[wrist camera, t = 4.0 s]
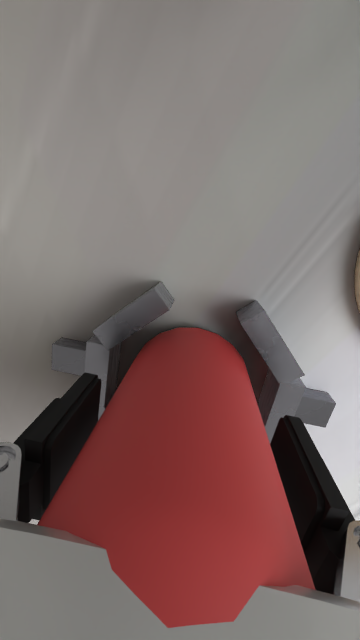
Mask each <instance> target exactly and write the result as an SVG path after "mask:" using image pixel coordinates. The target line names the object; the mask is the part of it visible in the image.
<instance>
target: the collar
mask: <svg viewBox="0 0 360 640" xmlns="http://www.w3.org/2000/svg"><path fill="white" fill-rule="evenodd" d="M173 302H174V299H173V297H172V296H171V294H170V293H169V292H168V290H167V289H166V287H165V286H164V284H163V283H162V282H160V283H158V284H157V285H155V286H154V287H153V288H151V289H150V290H148V291H147V292H145V293H144V294H143V295H141V296H140V297H138V298H137V299H135V300H134V301H133V302H131V303H130V304H128V305H127V306H125V307H124V308H122V309H121V310H120V311H118V312H117V313H115V314H114V315H112V316H111V317H110V318H108V319H107V320H106V321H104V322H103V323H102V324H101V325H99V326H98V327H97V328H96V329H95V330H93V331H92V332H93V333H94V334H95V335H94V336H93V337H91V338H90V339H89V340H88V341H87V343H86V342H81V341H76V340H72V339H67V338H60V339H59V340H58V341H56V342H55V343H53V344H52V370H56V371H61V372H66V373H71V374H75V375H80V376H82V375H83V374H84V373H85V372H86V373H91V374H95V375H98V379H101V393H100V404H99V414H98V421H99V419H100V417H101V415H102V414H103V412H104V410H105V409H106V407H107V405H108V404H109V402H110V400H111V398H112V397H113V395H114V393H115V392H116V390H117V387H116V386H117V377H118V368H119V359H120V351H121V342H122V341H123V340H124V339H126V338H127V337H129V336H130V335H132V334H133V333H135V332H137V331H138V330H140V329H141V328H143V327H144V326H146V325H147V324H149V323H150V322H152V321H153V320H155V319H156V318H158V317H159V316H161V315H162V314H164V313H165V312H167V311H169V310H170V308H171V306H172V304H173ZM236 314H237V316H238V319H239V321H240V324H241V325H242V327H243V328H244V330H245V331H246V333H247V335H248V336H249V338H250V339H251V341H252V342H253V344H254V345H255V347H256V348H257V350H258V351H259V353H260V354H261V356H262V357H263V359H264V361H265V362H266V364H267V365H268V367H269V370H268V373H267V376H266V379H265V382H264V385H263V388H262V391H261V394H260V397H259V400H258V403H257V404H258V408H259V411H260V414H261V417H262V420H263V424H264V427H265V430H266V433H267V436H268V440H269V443H271V440H272V438H273V435H274V432H275V430H276V427H277V424H278V421H279V419H280V418H281V417H282V418H284V416H285V415H289V416H294V417H299V418H300V419H301V420H302V422H303V423H306V424H311V425H315V426H320V427H326V425H327V423H328V420H329V418H330V416H331V414H332V411H333V409H334V407H335V405H336V403H335V401H334V400H333V399H332V398H331V396H330V395H329V394H328V393H327V392H322V391H318V390H313V389H308V388H306V387H305V385H304V384H303V382H302V381H301V379H300V377H302V376H304V373H303V371H302V370H301V368H300V367H299V365H298V363H297V362H296V360H295V359H294V357H293V355H292V354H291V352H290V351H289V349H288V347H287V346H286V344H285V342H284V341H283V339H282V338H281V336H280V334H279V333H278V331H277V330H276V328H275V326H274V325H273V323H272V322H271V320H270V318H269V317H268V315H267V314H266V312H265V310H264V309H263V308H262V307H261V305H260V304H259V303H258V302H257V301H256V300H255V301H253V302H252V303H250V304H249V305H247V306H245V307H244V308H242V309H240V310H239V311H237V312H236Z"/></svg>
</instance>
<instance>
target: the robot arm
mask: <svg viewBox="0 0 360 640" xmlns="http://www.w3.org/2000/svg"><path fill="white" fill-rule="evenodd" d="M100 393H101V379H98V375H95V374H91V373H86V372H85V373H84V374H83V375H82V376H81V377H80V378H79V379H78V380H77V381H76V382H75V383H74V385H73V386H72V387H71V388H70V389H69V390H68V391H67V392H66V393H65V394H64V396H63V397H62V398H61V399H60V398H56V399H55V400H53V401H52V402H51V403H50V405H49V406H48V407H47V408H46V409H45V410H44V411H43V412H42V413H41V414H40V415H39V416H38V417H37V418H36V419H35V420H34V422H33V423H32V424H31V425H30V426H29V427H28V428H27V429H26V430H25V431H24V432H23V433H22V434H21V435H20V436H19V437H18V439H17V440H16V441H15V442H14V443H10V442H0V640H360V521H355V519H354V517H353V515H352V514H351V512H350V510H349V508H348V506H347V504H346V502H345V500H344V499H343V497H342V495H341V493H340V491H339V489H338V487H337V485H336V483H335V482H334V480H333V478H332V476H331V474H330V472H329V470H328V468H327V467H326V465H325V463H324V461H323V459H322V458H321V456H320V454H319V452H318V450H317V448H316V447H315V445H314V443H313V441H312V439H311V437H310V435H309V433H308V431H307V430H306V428H305V426H304V424H303V422H302V420H301V419H300V418H299V417H294V416H289V415H285V416H284V418H282V417H281V418H280V419H279V421H278V424H277V427H276V430H275V432H274V435H273V438H272V440H271V443H270V446H271V449H272V452H273V456H274V459H275V462H276V465H277V468H278V472H279V475H280V478H281V481H282V484H283V488H284V491H285V494H286V497H287V500H288V504H289V507H290V510H291V513H292V516H293V519H294V523H295V526H296V529H297V532H298V535H299V539H300V542H301V545H302V548H303V551H304V555H305V558H306V561H307V564H308V567H309V571H310V574H311V577H312V580H313V583H314V587H315V590H313V589H310V588H306V587H302V586H298V585H292V586H287V587H279V586H259V587H258V588H257V589H256V591H255V592H254V594H253V595H252V596H251V598H250V599H249V601H248V602H247V604H246V605H245V606H244V608H243V609H242V611H241V612H240V613H239V615H238V616H237V618H236V619H235V620H234V622H223V623H212V624H200V625H190V626H182V627H173V628H167V627H166V626H165V625H164V624H163V623H162V622H161V621H160V619H159V618H158V617H157V616H156V615H155V614H154V613H153V612H152V611H151V610H150V609H149V608H148V607H147V606H146V605H145V604H144V603H143V602H142V601H141V600H140V599H139V598H138V597H137V596H136V595H135V594H134V593H133V592H132V591H131V590H130V589H129V588H128V587H127V586H126V584H125V583H124V582H123V581H122V580H121V579H120V578H119V577H118V576H117V575H116V574H115V573H114V572H113V570H112V569H111V565H110V562H109V558H108V555H107V552H106V549H104V548H102V547H100V546H98V545H96V544H93V543H91V542H89V541H87V540H84V539H82V538H80V537H78V536H75V535H73V534H71V533H69V532H67V531H63V530H59V529H54V528H49V527H44V526H39V525H34V524H30V523H29V522H30V521H31V519H36V520H40V519H41V517H42V516H43V514H44V512H45V510H46V509H47V507H48V505H49V504H50V502H51V500H52V499H53V497H54V495H55V493H56V492H57V490H58V488H59V487H60V485H61V483H62V482H63V480H64V478H65V477H66V475H67V473H68V471H69V470H70V468H71V466H72V465H73V463H74V461H75V460H76V458H77V456H78V454H79V453H80V451H81V449H82V448H83V446H84V444H85V443H86V441H87V439H88V437H89V436H90V434H91V432H92V431H93V429H94V427H95V426H96V424H97V422H98V414H99V404H100Z"/></svg>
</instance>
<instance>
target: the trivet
mask: <svg viewBox="0 0 360 640" xmlns="http://www.w3.org/2000/svg"><path fill="white" fill-rule="evenodd" d="M354 287H355V298H356V302H357V306H358V310H359V313H360V249H359V252H358V256H357V262H356V267H355V279H354Z"/></svg>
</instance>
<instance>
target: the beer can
mask: <svg viewBox="0 0 360 640" xmlns="http://www.w3.org/2000/svg"><path fill="white" fill-rule="evenodd" d="M37 525H39V526H44V527H49V528H54V529H59V530H63V531H67V532H69V533H71V534H73V535H75V536H78V537H80V538H82V539H84V540H87V541H89V542H91V543H93V544H96V545H98V546H100V547H102V548H104V549H106V552H107V555H108V558H109V562H110V565H111V569H112V570H113V572H114V573H115V574H116V575H117V576H118V577H119V578H120V579H121V580H122V581H123V582H124V583H125V584H126V586H127V587H128V588H129V589H130V590H131V591H132V592H133V593H134V594H135V595H136V596H137V597H138V598H139V599H140V600H141V601H142V602H143V603H144V604H145V605H146V606H147V607H148V608H149V609H150V610H151V611H152V612H153V613H154V614H155V615H156V616H157V617H158V618H159V619H160V621H161V622H162V623H163V624H164V625H165V626H166V627H167V628H173V627H182V626H190V625H200V624H212V623H223V622H234V620H235V619H236V618H237V616H238V615H239V613H240V612H241V611H242V609H243V608H244V606H245V605H246V604H247V602H248V601H249V599H250V598H251V596H252V595H253V594H254V592H255V591H256V589H257V588H258V587H259V586H279V587H287V586H292V585H298V586H302V587H306V588H310V589H313V590H315V587H314V583H313V580H312V577H311V574H310V571H309V567H308V564H307V561H306V558H305V555H304V551H303V548H302V545H301V542H300V539H299V535H298V532H297V529H296V526H295V523H294V519H293V516H292V513H291V510H290V507H289V504H288V500H287V497H286V494H285V491H284V488H283V484H282V481H281V478H280V475H279V472H278V468H277V465H276V462H275V459H274V456H273V452H272V449H271V446H270V443H269V440H268V436H267V433H266V430H265V427H264V424H263V420H262V417H261V414H260V411H259V408H258V404H257V401H256V398H255V395H254V392H253V388H252V385H251V382H250V379H249V376H248V372H247V369H246V366H245V363H244V360H243V358H242V357H241V355H240V354H239V353H238V351H237V350H236V349H235V347H234V346H233V345H232V344H231V343H229V342H228V341H227V340H225V339H224V338H222V337H221V336H219V335H218V334H216V333H213V332H210V331H207V330H203V329H200V328H175V329H172V330H169V331H165V332H162V333H159V334H158V335H157V336H155V337H154V338H152V339H151V340H150V341H148V342H147V343H145V345H144V346H143V348H142V349H141V351H140V352H139V353H138V355H137V356H136V358H135V359H134V361H133V363H132V365H131V366H130V368H129V370H128V371H127V373H126V375H125V376H124V378H123V380H122V382H121V383H120V385H119V387H118V388H117V390H116V392H115V393H114V395H113V397H112V398H111V400H110V402H109V404H108V405H107V407H106V409H105V410H104V412H103V414H102V415H101V417H100V419H99V421H98V422H97V424H96V426H95V427H94V429H93V431H92V432H91V434H90V436H89V437H88V439H87V441H86V443H85V444H84V446H83V448H82V449H81V451H80V453H79V454H78V456H77V458H76V460H75V461H74V463H73V465H72V466H71V468H70V470H69V471H68V473H67V475H66V477H65V478H64V480H63V482H62V483H61V485H60V487H59V488H58V490H57V492H56V493H55V495H54V497H53V499H52V500H51V502H50V504H49V505H48V507H47V509H46V510H45V512H44V514H43V516H42V517H41V519H40V521H39V522H38V524H37Z"/></svg>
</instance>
